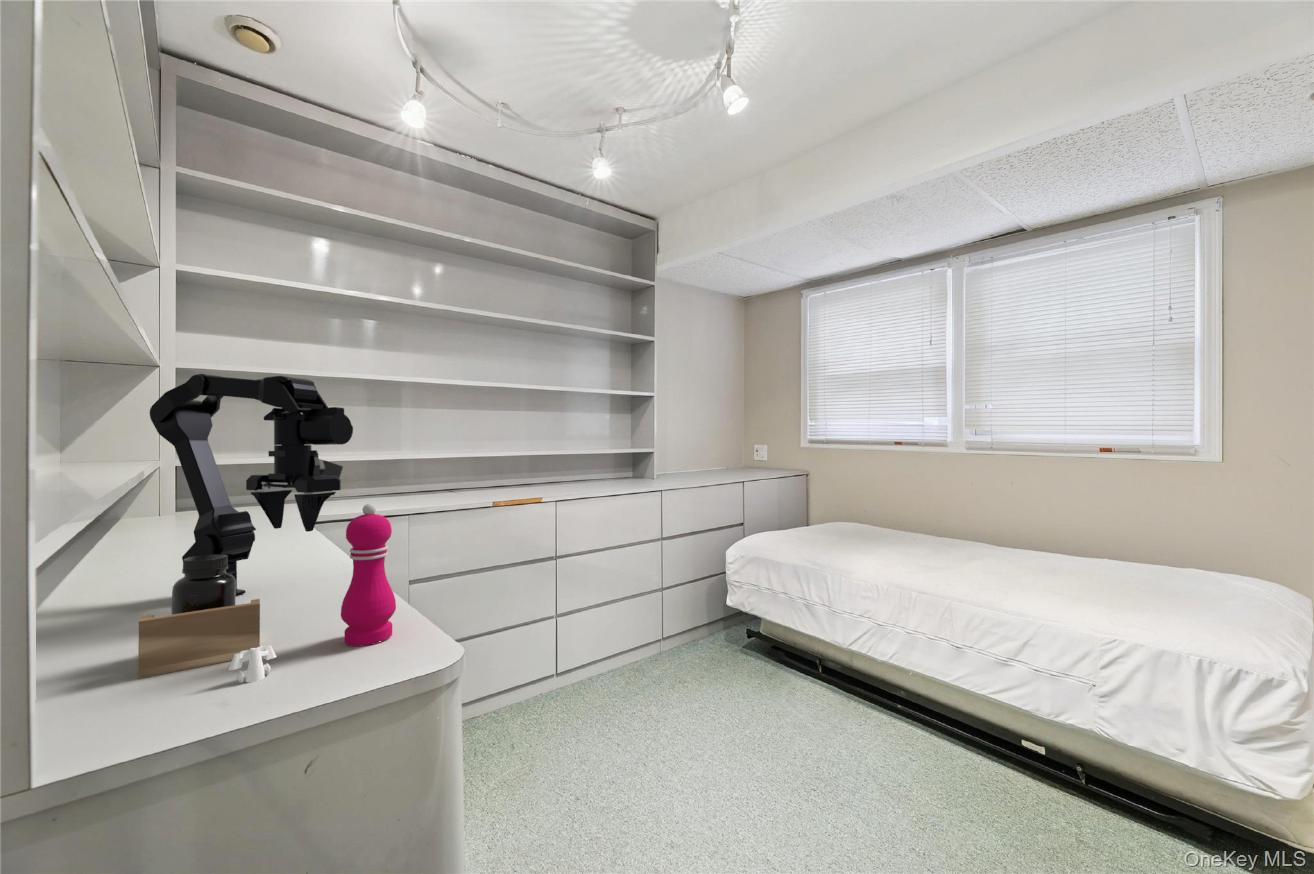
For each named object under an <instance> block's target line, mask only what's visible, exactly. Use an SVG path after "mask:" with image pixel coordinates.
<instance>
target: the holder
mask: <svg viewBox="0 0 1314 874" xmlns="http://www.w3.org/2000/svg"><path fill="white" fill-rule="evenodd" d="M260 601H261V600H260V598H254V599H250V602H248V603H242V604H235V605H234V606H227V607H220V608H213V609H206V610H200V611H193V612H186V613H179V614H173V615H171V614H167V615H166V614H165V615H161V616H160V615H159V616H154V614H153V613H151V614H144V615H141V617H140V619H139V620H138V647H137V648H138V659H137V662H138V665H137V666H138V672H137V673H138V674H137V676H138V679H144V678H149V677H154V676H159V675H163V674H169V673H175V672H180V671H183V670H185V671H186V670H190V669H195V668H200V667H205V666H210V665H211V666H212V665H215V664H221V663H225V662H230V661H231V662H232V659H233V657H234V655H235V654H238V653H240V652H241V651H246V650H250V649H251V648H258V647H260V646H261V645H260V643H261V641H260V639H261V632H260V631H261V625H260V624H261V603H260Z"/></svg>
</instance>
